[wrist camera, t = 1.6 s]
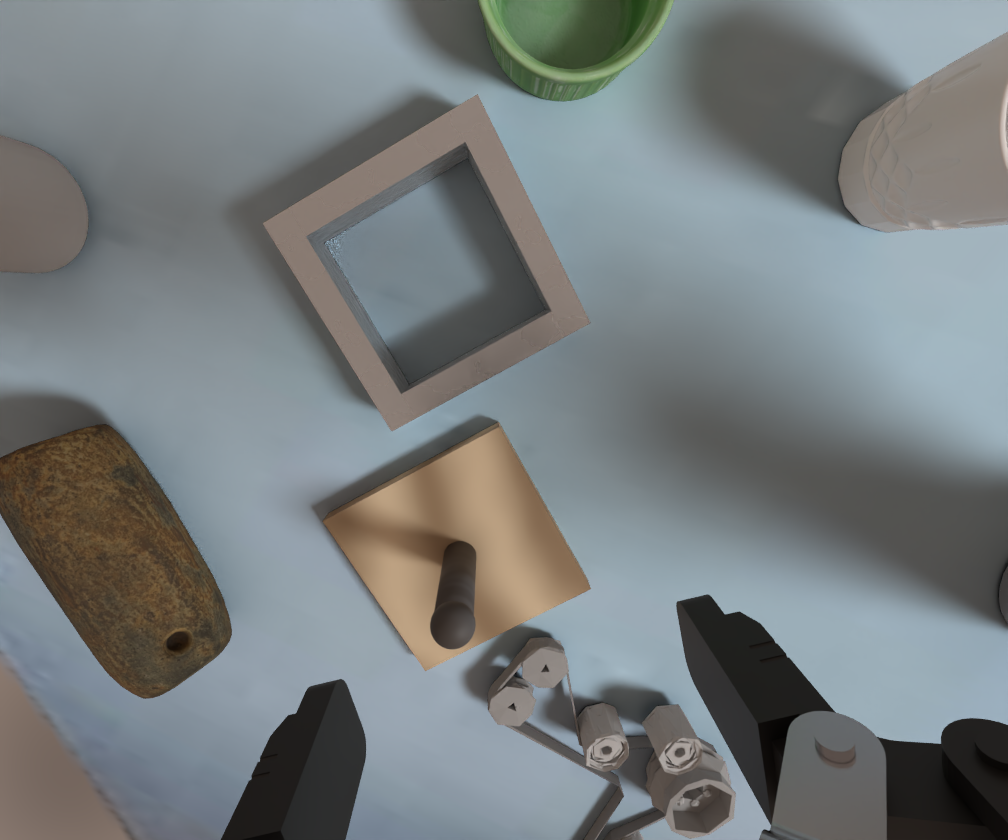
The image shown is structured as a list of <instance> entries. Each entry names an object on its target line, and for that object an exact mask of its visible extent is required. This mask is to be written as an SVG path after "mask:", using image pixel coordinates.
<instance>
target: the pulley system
mask: <svg viewBox="0 0 1008 840" xmlns="http://www.w3.org/2000/svg"><path fill="white" fill-rule="evenodd" d="M521 666H522V667H523V671H522V678H518V677H514V676H513V675H514V674H515V673H516V671H517V670H518V669H519V668H520V667H521ZM568 672H569V670H568V662H567V658H566V656H565V652H564V648H563V646H562V645H561V642H560V641H558V640H554V639H552V638H547V637H543V638H530V639H529V641H528V642H527V644H526V645H525V646H524V648H523V649H522V650H521V651H520V652H519V653H518V655H517V656H516V657H515V658H514V659H513V661H512V662H511V663H510V664H509V665H508V667H507V668H506V669H505V670H504V671H503V673H502V674H501V675H500V676H499V677H498V678H497V680H495V681H494V683H493V684H492V686H491V687H490V689H489V692H488V700H487V701H488V710H489V712H490V714H491V716H492V717H493V719H494V720H495V722H496V723H497V724H498V725H505V726H507V727H509V728H511V729H513V730H514V731H516V732H518V733H520V734H522V735H524V736H526V737H527V738H529V739H531V740H533V741H535V742H537V743H539V744H540V745H542V746H544V747H546V748H548V749H550V750H552V751H553V752H555V753H557V754H559V755H561V756H563V757H565V758H567V759H568V760H570V761H572V762H574V763H576V764H578V765H580V766H581V767H583V768H585V769H587V770H589V771H591V772H593V773H594V774H596V775H598V776H600V777H602V778H604V779H606V780H608V781H609V782H611V783H613V784H615V785H617V786H618V789H617V790H616V792H615V793H614V795H613V796H612V798H611V799H610V801H609V802H608V804H607V805H606V807H605V808H604V810H603V811H602V813H601V814H600V816H599V817H598V819H597V820H596V822H595V823H594V825H593V826H592V828H591V829H590V831H589V832H588V834H587V835H586V837H585V838H584V840H596V839H597V837H598V836H599V834H600V833H601V831H602V829H603V828H604V826H605V825H606V823H607V822H608V820H609V819H610V817H611V815H612V814H613V812H614V811H615V809H616V808H617V806H618V805H619V803H620V801H621V800H622V798H623V797H624V794H623V791H622V788H621V785H620V782H619V778H618V776H617V775H615V774H613V773H612V772H610V771H611V770H615V769H618V768H619V767H620V766H621V765H622V764H623V763H624V761H625V760H626V759H627V758H628V757H629V749H636V748H650V747H653V748H654V752H653V754H652V756H651V758H650V760H649V763H648V765H647V767H646V774H647V779H648V780H647V783H646V786H645V787H646V789H647V791H648V792H649V794H650V796H651V799H652V805H653V806H654V807H656V808H657V809H659V810H657V811H655V812H653V813H650V814H648V815H646V816H643V817H641V818H639V819H636V820H634V821H632V822H629V823H627V824H625V825H622V826H620V827H618V828H615V829H613V830H611V831H610V832H609V833H608V834H607V836H606V837H605V838H604V839H603V840H643V837H642V835H641V834H640V832H639V830H641V829H643V828H645V827H647V826H649V825H651V824H653V823H656V822H658V821H660V820H662V819H664V818H665V819H666V820H667V822H668V824H669V826H670V828H671V830H672V831H673V832H676V833H678V834H680V835H683V836H685V837H688V838H690V839H691V838H695V837H700V836H705V835H709V834H711V833H712V832H714V831H715V830H717V829H718V828H720V827H721V826H723V825H724V824H726V823H727V822H729V821H730V820H732V819H733V818H734V808H735V795H736V793H735V792H734V790H733V789H732V788H731V786H730V785H731V781H730V777H729V774H728V770H727V766H726V763H725V761H723V757H721V756H720V755H718V754H717V752H716V750H715V748H714V747H713V745H711V744H709V743H708V742H706V741H704V740H702V739H700V738H698V737H697V735H696V734H695V732H694V730H693V728H692V726H691V724H690V723H689V721H688V719H687V717H686V716H685V714H684V712H683V711H682V709H681V708H680V706H679V705H678V704H677V705H665V706H656V707H655V709H654V710H653V711H652V712H651V713H650V714H649V715H648V716H647V718H646V719H645V720H644V721H643V722H642V725H643V727H644V729H645V731H646V733H647V735H648V736H636V737H625V734H624V731H623V728H622V725H621V723H620V720H619V717H618V714H617V711H616V709H615V707H614V706H611V705H608V704H605V703H600V704H596V705H592V706H588V707H586V708H585V709H584V710H583V711H582V712H581V714H580V715H579V716H578V717H577V718H576V713H575V707H574V702H573V696H572V691H571V685H570V680H569V674H568ZM566 674H567V679H568V684H569V690H570V695H571V701H572V706H573V713H574V719H575V725H576V732H577V736H578V741H579V745H581V746H582V747H583V752H584V756H585V757H583V756H581V755H580V754H578V753H576V752H574V751H572V750H571V749H569V748H567V747H565V746H564V745H562V744H560V743H558V742H556V741H555V740H553V739H551V738H549V737H548V736H546V735H544V734H542V733H540V732H539V731H537V730H535V729H533V728H531V727H530V726H528V725H526V724H524V723H523V722H524V721H526V720H527V719H528V718H529V717H530V716H531V715H532V712H533V709H534V705H535V702H536V699H535V698H534V697H533V696H532V695H533V694H532V693H533V689H534V688H533V687H532V686H531V685H530V684H529V683H528V682H530V683H531V684H533V685H535V686H536V687H540V688H554V687H555V686H556V685H557V684H558V683H559V682H560V681H561V680H562V678H563V677H564V676H565V675H566ZM579 732H580V734H579Z"/></svg>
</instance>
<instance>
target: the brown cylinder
mask: <svg viewBox="0 0 1008 840" xmlns="http://www.w3.org/2000/svg"><path fill="white" fill-rule="evenodd" d="M0 514H1V516H2V518H3V519H4V521H5V523H6V525H7V526H8V528H9V530H10V531H11V533H12V535H13V536H14V538H15V540H16V541H17V543H18V545H19V546H20V548H21V549H22V551H23V552H24V554H25V555H26V557H27V558H28V560H29V561H30V563H31V564H32V565H33V567H34V569H35V570H36V572H37V573H38V575H39V576H40V578H41V579H42V581H43V582H44V584H45V585H46V587H47V588H48V590H49V591H50V592H51V594H52V595H53V597H54V598H55V600H56V601H57V603H58V604H59V606H60V607H61V608H62V610H63V612H64V613H65V615H66V616H67V617H68V619H69V620H70V622H71V623H72V625H73V626H74V627H75V629H76V631H77V632H78V634H79V635H80V637H81V638H82V639H83V641H84V642H85V644H86V645H87V646H88V648H89V649H90V651H91V652H92V654H93V655H94V656H95V658H96V659H97V660H98V662H99V663H100V664H101V666H102V667H103V668H104V669H105V671H106V672H107V673H108V674H109V675H110V676H111V677H112V678H113V679H114V680H115V681H116V682H117V683H118V684H119V685H121V686H122V687H123V688H125V689H126V690H128V691H130V692H131V693H133V694H135V695H137V696H139V697H141V698H145V699H146V698H154V697H157V696H160V695H162V694H164V693H166V692H168V691H170V690H171V689H173V688H175V687H176V686H178V685H179V684H180V683H182V682H183V681H185V680H186V679H187V678H189V677H190V676H192V675H193V674H194V673H196V672H197V671H199V670H200V669H201V668H203V667H204V666H205V665H207V664H208V663H209V662H211V661H212V660H213V659H215V658H216V657H217V656H218V655H219V654H220V653H221V652H222V651H223V650H224V649H225V647H226V646H227V644H228V643H229V641H230V638H231V635H232V629H231V623H230V618H229V614H228V611H227V608H226V606H225V602H224V599H223V597H222V594H221V592H220V590H219V588H218V586H217V584H216V581H215V579H214V577H213V575H212V573H211V571H210V569H209V568H208V566H207V564H206V563H205V561H204V559H203V558H202V556H201V554H200V553H199V551H198V549H197V547H196V545H195V544H194V542H193V540H192V538H191V537H190V535H189V533H188V531H187V530H186V528H185V526H184V525H183V523H182V522H181V520H180V518H179V516H178V515H177V513H176V511H175V510H174V508H173V506H172V504H171V502H170V501H169V499H168V498H167V497H166V495H165V494H164V492H163V491H162V489H161V488H160V486H159V484H158V483H157V482H156V480H155V479H154V478H153V477H152V475H151V474H150V472H149V471H148V469H147V468H146V466H145V465H144V463H143V462H142V461H141V460H140V458H139V457H138V455H137V454H136V453H135V451H134V450H133V449H132V448H131V447H130V445H129V444H128V443H127V442H126V441H125V440H124V439H123V438H122V437H121V436H120V435H119V434H118V433H117V432H116V431H115V430H114V429H113V428H111V427H110V426H108V425H105V424H103V425H95V426H91V427H86V428H82V429H79V430H75V431H72V432H69V433H67V434H64V435H61V436H58V437H54V438H51V439H48V440H45V441H41V442H38V443H35V444H32V445H29V446H26V447H23V448H21V449H18V450H16V451H14V452H12V453H10V454H7V455H5V456H3V457H1V458H0Z"/></svg>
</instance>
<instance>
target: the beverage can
mask: <svg viewBox="0 0 1008 840" xmlns="http://www.w3.org/2000/svg"><path fill="white" fill-rule="evenodd" d="M88 224H89V218H88V209H87V205H86V201H85V198H84V196H83V193H82V191H81V189H80V187H79V185H78V184H77V182H76V181H75V179H74V178H73V176H72V175H71V174H70V172H69V171H68V170H67V169H66V168H65V167H64V166H63V165H62V164H61V163H60V162H59V161H58V160H56V159H55V158H54V157H52V156H51V155H49V154H48V153H46V152H45V151H43V150H41V149H39V148H36V147H34V146H32V145H29V144H26V143H23V142H19V141H16V140H13V139H10V138H7V137H4V136H1V135H0V272H21V273H45V272H50V271H54V270H57V269H59V268H61V267H64V266H65V265H67V264H68V263H70V262H71V261H72V260H73V259H74V258H75V257H76V256H77V255H78V254H79V252H80V251H81V249H82V247H83V245H84V243H85V240H86V237H87V233H88Z"/></svg>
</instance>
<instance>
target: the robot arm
mask: <svg viewBox="0 0 1008 840" xmlns="http://www.w3.org/2000/svg"><path fill="white" fill-rule="evenodd" d="M999 603H1000V608H1001V612H1002V614H1003V616H1004V618H1005V620H1006V622H1007V623H1008V566H1007V568H1006V570H1005V572H1004V574H1003V577H1002V581H1001V584H1000V590H999ZM676 606H677V613H678V619H679V625H680V630H681V636H682V642H683V647H684V653H685V658H686V662H687V666H688V669H689V672H690V675H691V677H692V680H693V682H694V684H695V686H696V688H697V690H698V692H699V694H700V696H701V697H702V699H703V701H704V703H705V705H706V707H707V708H708V710H709V712H710V714H711V716H712V718H713V720H714V721H715V723H716V725H717V727H718V729H719V731H720V732H721V734H722V736H723V738H724V740H725V742H726V743H727V745H728V747H729V749H730V751H731V753H732V754H733V756H734V758H735V760H736V762H737V764H738V766H739V767H740V769H741V771H742V773H743V775H744V777H745V778H746V780H747V782H748V784H749V786H750V788H751V789H752V791H753V793H754V795H755V797H756V799H757V801H758V802H759V804H760V806H761V808H762V810H763V812H764V813H765V815H766V817H767V819H768V821H769V823H770V824H771V828H770V831H767V830H763V831H762V833H761V835H760V838H759V840H1008V725H1006V724H1003V723H1000V722H995V721H991V720H985V719H974V718H969V719H961V720H957V721H954V722H952V723H950V724H949V725H948V726H946V727H945V729H944V730H943V732H942V736H941V744H933V743H918V742H902V741H893V740H887V739H883V738H879V737H876V736H875V734H874V733H873V732H871V731H870V730H869V729H868V728H867V727H866V726H864V725H863V724H861V723H860V722H858V721H856V720H854V719H852V718H850V717H848V716H845V715H842V714H839V713H836V712H835V711H834V710H833V709H832V708H831V707H830V706H829V704H828V703H827V702H826V701H825V700H824V699H823V697H822V696H821V695H820V694H819V693H818V691H817V690H816V689H815V688H814V687H813V685H812V684H811V683H810V682H809V681H808V680H807V678H806V677H805V676H804V675H803V674H802V672H801V671H800V670H799V669H798V668H797V667H796V665H795V664H794V663H793V662H792V661H791V659H790V658H787V656H786V653H785V652H784V651H783V650H782V649H781V648H780V646H779V645H778V644H776V643H775V641H774V639H773V638H772V637H771V636H770V634H769V633H768V632H767V631H766V630H765V629H764V627H763V626H762V625H761V624H760V623H758V622H757V621H755V620H753V619H752V618H750V617H748V616H746V615H745V614H743V613H741V612H735V613H731V614H726V615H725V614H724V613H723V612H722V610H721V609H720V608H719V606H718V605H717V604H716V602H715V601H714V600H713V598H712V597H711V596H710V595H703V596H699V597H695V598H691V599H686V600H682V601H678V602H677V605H676ZM365 758H366V740H365V734H364V730H363V727H362V724H361V722H360V719H359V716H358V714H357V711H356V708H355V705H354V703H353V700H352V697H351V695H350V692H349V689H348V687H347V684H346V683H345V681H344V680H342V679H339V680H335V681H331V682H327V683H322V684H318V685H314V686H310V687H309V688H308V689H307V690H306V692H305V695H304V697H303V699H302V701H301V704H300V706H299V708H298V710H297V713H296V714H292V715H288V716H287V717H286V719H285V720H284V721H283V722H282V723H281V724H280V726H279V727H278V728H277V729H276V730H275V731H274V733H273V734H272V735H271V736H270V738H269V740H268V742H267V744H266V747H265V749H264V751H263V753H262V755H261V757H260V762H258V763H257V765H256V767H255V770H254V772H253V774H252V779H251V780H250V781H249V782H248V784H247V786H246V788H245V790H244V792H243V795H242V797H241V799H240V801H239V803H238V805H237V807H236V809H235V811H234V813H233V815H232V818H231V820H230V822H229V824H228V826H227V828H226V830H225V832H224V834H223V836H222V838H221V840H345V839H346V835H347V831H348V827H349V823H350V819H351V815H352V811H353V807H354V803H355V799H356V795H357V791H358V787H359V783H360V779H361V775H362V771H363V767H364V763H365Z"/></svg>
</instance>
